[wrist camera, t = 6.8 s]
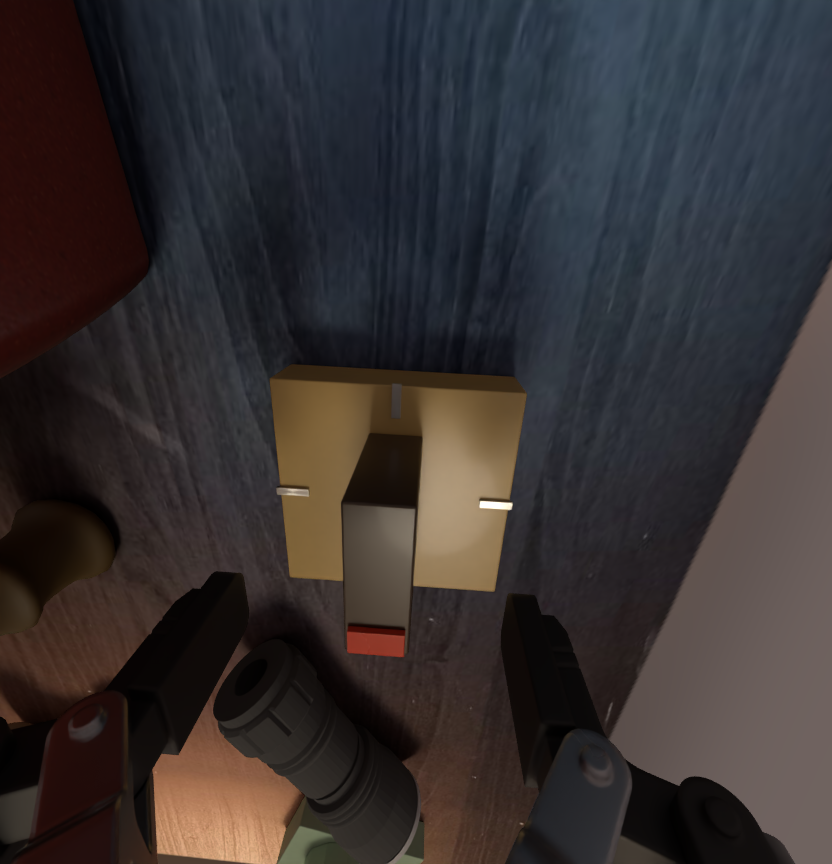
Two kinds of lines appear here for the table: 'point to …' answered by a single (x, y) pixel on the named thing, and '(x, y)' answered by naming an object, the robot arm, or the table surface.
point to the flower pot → (57, 187)
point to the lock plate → (440, 467)
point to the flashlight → (320, 752)
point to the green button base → (329, 843)
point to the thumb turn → (381, 544)
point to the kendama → (48, 558)
